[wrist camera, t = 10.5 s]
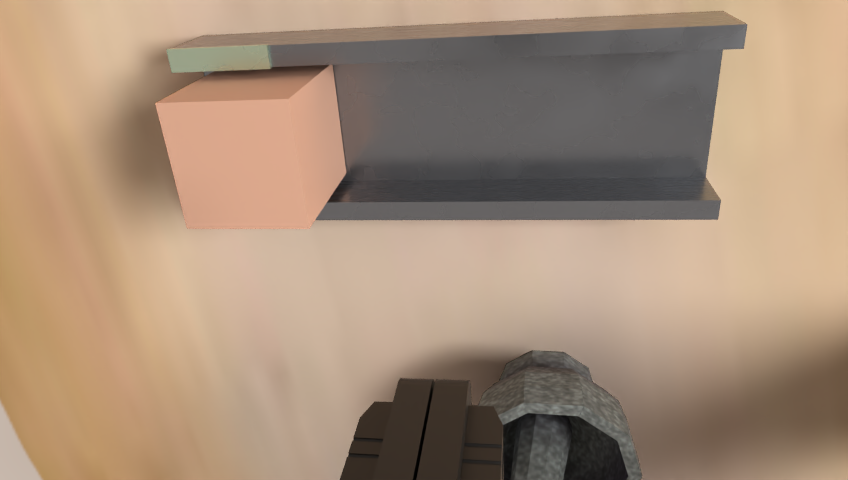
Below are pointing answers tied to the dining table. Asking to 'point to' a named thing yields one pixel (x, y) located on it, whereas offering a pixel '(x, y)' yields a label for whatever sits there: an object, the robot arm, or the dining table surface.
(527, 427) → the mortar and pestle
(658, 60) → the chute
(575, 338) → the dining table surface
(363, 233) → the dining table surface
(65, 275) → the dining table surface
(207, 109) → the terracotta block
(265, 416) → the dining table surface
